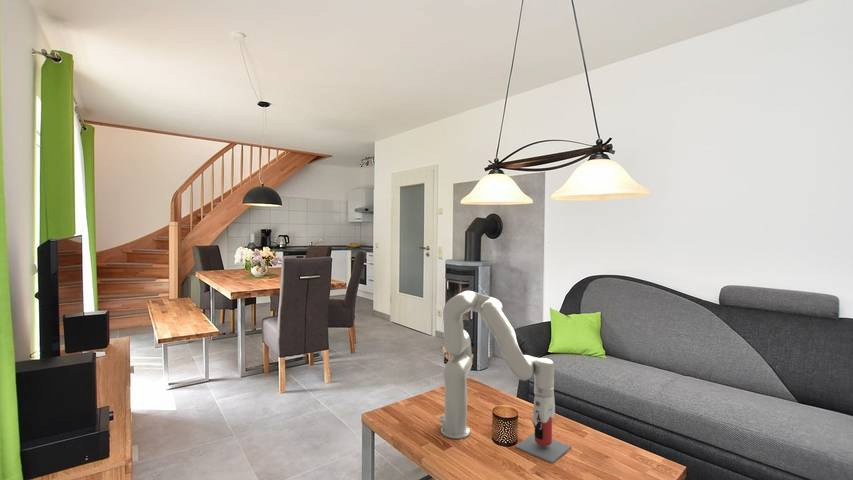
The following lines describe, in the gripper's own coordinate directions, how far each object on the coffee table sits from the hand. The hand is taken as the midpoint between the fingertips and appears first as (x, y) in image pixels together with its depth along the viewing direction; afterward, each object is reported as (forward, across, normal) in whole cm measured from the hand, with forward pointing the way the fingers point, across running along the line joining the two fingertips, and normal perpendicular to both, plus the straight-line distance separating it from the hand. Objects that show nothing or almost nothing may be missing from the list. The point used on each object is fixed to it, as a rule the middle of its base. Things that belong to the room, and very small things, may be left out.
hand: (543, 434), depth 160 cm
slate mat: (+5, 0, 0) cm, 5 cm away
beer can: (+3, 0, 0) cm, 3 cm away
